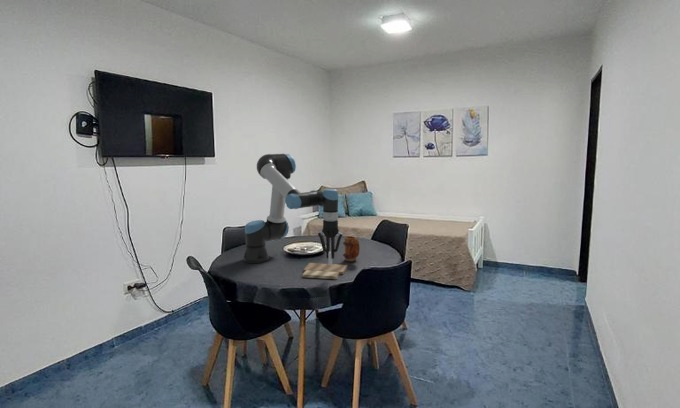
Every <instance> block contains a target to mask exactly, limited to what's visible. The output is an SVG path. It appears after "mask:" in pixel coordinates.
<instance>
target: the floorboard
mask: <svg viewBox="0 0 680 408" xmlns="http://www.w3.org/2000/svg"><path fill="white" fill-rule="evenodd" d="M347 269H348V264H336V263H332V265H328V263H318V262H317V263H316V262H309V263H308V264H307V265H305V267H304V269H303V273H304V272H305V271H306V270H313V271H330V272H339V274H343V275H344V274H345V272H346V270H347Z"/></svg>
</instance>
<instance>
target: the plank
mask: <svg viewBox="0 0 680 408" xmlns="http://www.w3.org/2000/svg"><path fill="white" fill-rule="evenodd" d="M339 276H340V275H339V272H330V271H313V270H306V271H305V272H303V273H302V278H309V279H310V278H311V279H325V280H326V279H327V280H328V279H329V280H337V279H338V278H339Z"/></svg>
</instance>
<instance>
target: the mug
mask: <svg viewBox="0 0 680 408" xmlns="http://www.w3.org/2000/svg"><path fill="white" fill-rule="evenodd" d="M342 243H343V245H344V253H343V254H342V256H343V257H344V260H345V261H346V262H355V261H356V260H357V258H358V256H359V254H360V242H359V240H358V238H356V237H355V236H352V235H349V236H345V237H344V241H343V242H342Z"/></svg>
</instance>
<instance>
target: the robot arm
mask: <svg viewBox="0 0 680 408" xmlns="http://www.w3.org/2000/svg"><path fill="white" fill-rule="evenodd" d="M296 169H297V166H296V160H295V159H294V157H293V155H291V154H290V153H289V154H288V153H273V154H272V153H268V154H264V155H261V157H259V159H258V160H257V162H256V170H257V171H256V172H257V173H258V174H259V176H260V177H261V178H263V179H265V180H266V181H268V183H270V185H272V186H271V195H270V196H271V197H270V206H269V209H270V210H269V215H267V217H266V221H264V220H262V219H258V220H252V221H251V220H250V221H249V222H247V223H246V224H245V225H244V236H245V237H244V238H245V249H244V253H243V256H242V257H243V262H244V263H245V264H246V263H247V264H261V263H265V262H268V261H269V260H270V255H269V252H268V248H267V246H266V242H268V241H274V240H280V239H282V238H285V237H287V236H288V234H289V232H290V230H289V229H290V226H289V222H288V221H287V219H286V217H285V207H287V208H288V209H290V210H297V209H298V210H299V209H303V208H311V207H322V219H323V221H322V230H321V231H319V232H318V233H317V235H318V237H319V239H320V243H321V248H322V251H323V252H325V253H326V259H328V260H327V261H328V263H327V264H328V265H332V264H333V259H335V253H337V252H338V251H339V246H340V244H341V239H342V237H343V236H344V233H343V232H340V230H339V225H338V224H339V192H338V189H336V188H324V189H323V191H320V190H310V191H307V192H301V191H300V190H298V189H297V188H296V187H295V186H294V184H292V183H291V182H290V181H289V179H290V178H291V176H292V175H291V174H294V173H295V171H296ZM324 236H325V237H324ZM336 236H337V240H335V239H336ZM330 240H331V241H330ZM335 241H336V245H335ZM330 244H331V245H330Z"/></svg>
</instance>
